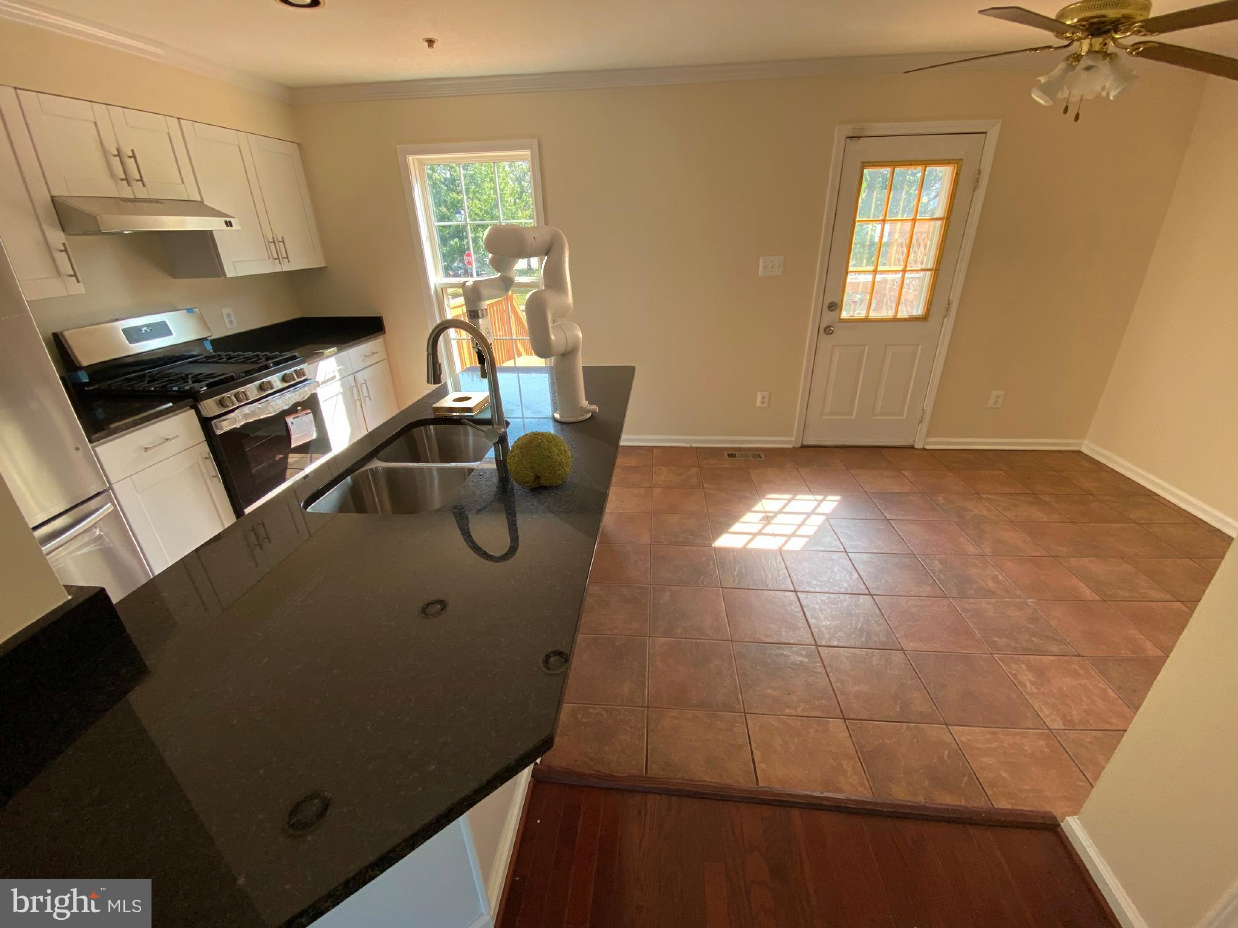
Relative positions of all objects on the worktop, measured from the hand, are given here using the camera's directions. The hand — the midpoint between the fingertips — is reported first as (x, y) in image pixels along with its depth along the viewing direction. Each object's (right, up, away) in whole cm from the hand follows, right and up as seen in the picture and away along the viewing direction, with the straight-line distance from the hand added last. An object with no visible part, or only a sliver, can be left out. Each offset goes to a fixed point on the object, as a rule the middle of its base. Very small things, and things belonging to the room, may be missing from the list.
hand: (486, 361), depth 193 cm
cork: (0, -5, +3) cm, 6 cm away
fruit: (+32, -45, -65) cm, 85 cm away
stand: (-6, -19, -7) cm, 21 cm away
